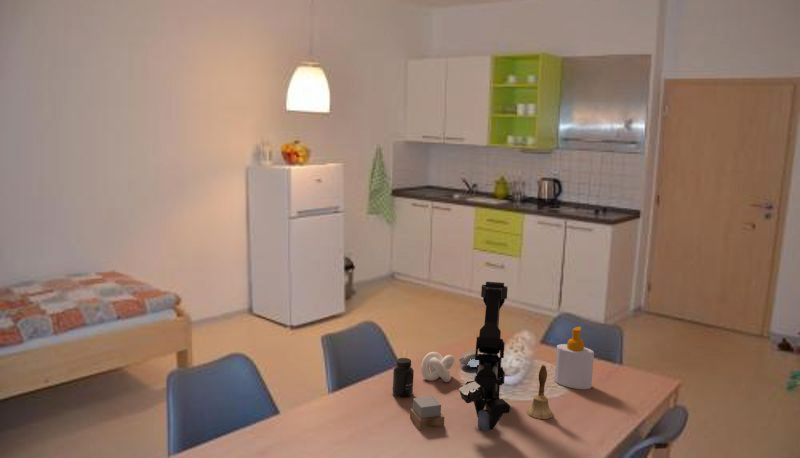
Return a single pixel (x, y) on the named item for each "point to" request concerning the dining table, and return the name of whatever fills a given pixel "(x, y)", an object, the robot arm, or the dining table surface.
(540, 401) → the hand bell
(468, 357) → the seashell
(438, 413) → the grey slab
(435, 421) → the walnut slab
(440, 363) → the white knot sculpture
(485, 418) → the grey rounded cylinder
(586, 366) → the soap bottle
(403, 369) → the supplement bottle
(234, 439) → the dining table surface
